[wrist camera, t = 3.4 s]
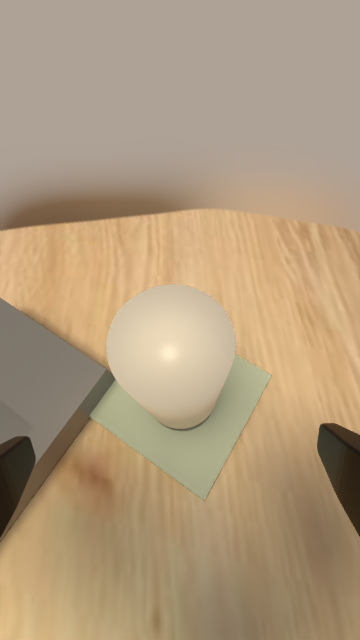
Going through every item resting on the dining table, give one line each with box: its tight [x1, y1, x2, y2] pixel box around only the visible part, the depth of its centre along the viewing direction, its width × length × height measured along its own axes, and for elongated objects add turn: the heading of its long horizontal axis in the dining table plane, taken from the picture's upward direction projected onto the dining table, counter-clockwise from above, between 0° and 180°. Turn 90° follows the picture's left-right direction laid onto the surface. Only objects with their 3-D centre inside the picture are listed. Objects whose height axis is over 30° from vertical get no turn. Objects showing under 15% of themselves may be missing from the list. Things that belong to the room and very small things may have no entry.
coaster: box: [89, 354, 272, 500], centre depth 21 cm, size 9×9×1 cm
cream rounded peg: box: [106, 284, 236, 431], centre depth 16 cm, size 5×5×11 cm
